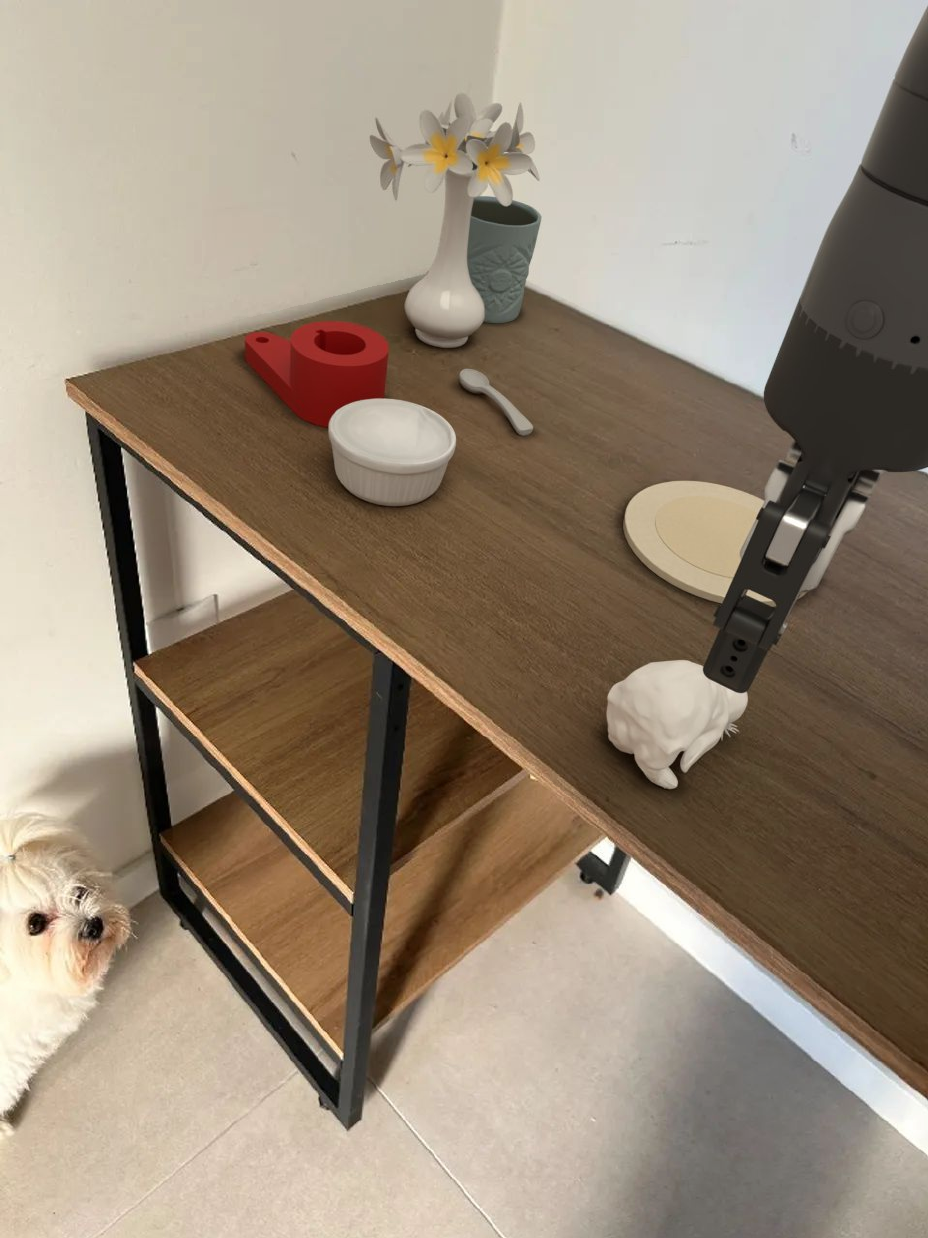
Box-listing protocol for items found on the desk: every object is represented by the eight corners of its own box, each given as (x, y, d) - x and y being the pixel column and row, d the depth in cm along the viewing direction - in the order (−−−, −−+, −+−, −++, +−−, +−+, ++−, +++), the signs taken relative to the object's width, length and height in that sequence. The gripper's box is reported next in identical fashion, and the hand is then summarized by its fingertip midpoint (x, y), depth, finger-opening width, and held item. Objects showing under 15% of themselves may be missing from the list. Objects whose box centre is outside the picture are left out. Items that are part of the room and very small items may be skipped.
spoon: (473, 377, 102) (477, 360, 101) (536, 438, 96) (540, 421, 95) (451, 381, 101) (454, 365, 99) (513, 443, 95) (517, 427, 93)
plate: (839, 540, 88) (843, 532, 88) (783, 638, 76) (787, 630, 76) (667, 466, 94) (670, 458, 94) (589, 546, 82) (592, 538, 81)
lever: (402, 410, 95) (408, 349, 91) (334, 438, 89) (337, 375, 85) (285, 341, 103) (286, 282, 98) (215, 363, 97) (213, 301, 92)
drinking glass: (499, 333, 112) (516, 232, 104) (428, 305, 115) (440, 205, 107) (537, 309, 119) (556, 212, 111) (470, 283, 122) (483, 188, 114)
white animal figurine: (615, 653, 58) (731, 608, 65) (576, 746, 64) (687, 695, 71) (689, 719, 55) (802, 663, 62) (641, 812, 60) (751, 751, 67)
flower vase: (341, 325, 108) (354, 83, 91) (471, 306, 117) (505, 83, 100) (399, 376, 100) (425, 124, 84) (533, 352, 109) (580, 119, 93)
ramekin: (471, 501, 85) (479, 451, 81) (360, 526, 79) (364, 474, 76) (412, 438, 91) (418, 390, 88) (307, 457, 86) (308, 407, 83)
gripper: (977, 423, 29) (785, 759, 39) (1025, 297, 39) (860, 594, 49) (749, 339, 31) (626, 679, 42) (848, 241, 41) (728, 536, 52)
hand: (753, 632), depth 45 cm, fingers open, 8 cm apart
